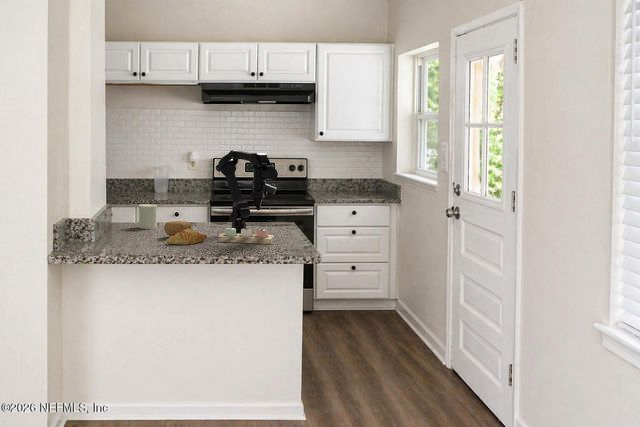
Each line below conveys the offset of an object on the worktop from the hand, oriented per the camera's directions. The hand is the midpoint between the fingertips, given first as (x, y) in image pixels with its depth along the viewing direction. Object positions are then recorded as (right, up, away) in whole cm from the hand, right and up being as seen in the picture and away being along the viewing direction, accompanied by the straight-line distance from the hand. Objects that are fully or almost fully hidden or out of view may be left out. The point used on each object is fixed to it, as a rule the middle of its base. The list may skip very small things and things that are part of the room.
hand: (258, 210), depth 394 cm
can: (-58, -9, +18) cm, 62 cm away
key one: (-12, -14, -13) cm, 23 cm away
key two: (-5, -15, -13) cm, 20 cm away
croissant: (-31, -15, -24) cm, 42 cm away
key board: (-5, -15, -13) cm, 20 cm away
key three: (+3, -15, -13) cm, 20 cm away
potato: (-38, -13, -9) cm, 41 cm away
